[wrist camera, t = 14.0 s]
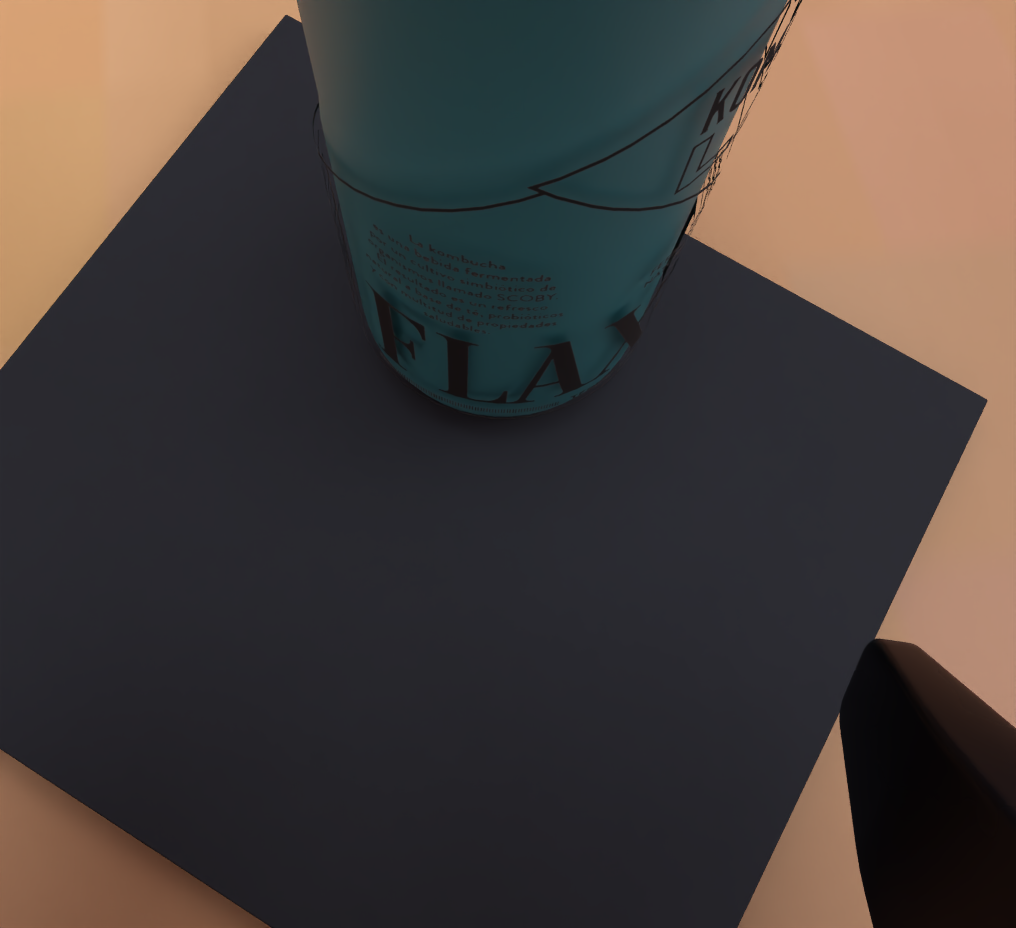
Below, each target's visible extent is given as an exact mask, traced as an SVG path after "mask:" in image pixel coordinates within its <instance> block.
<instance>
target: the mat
mask: <svg viewBox="0 0 1016 928" xmlns="http://www.w3.org/2000/svg"><path fill="white" fill-rule="evenodd" d="M318 103H319V95H318V91H317V87H316V82H315V78H314V73H313V69H312V65H311V60H310V56H309V52H308V47H307V43H306V38H305V34H304V30H303V25H302V23H301V22H299V21H297V20H295V19H293V18H292V17H290V16H288V15H285V16H284V18H283V19H282V20H281V21H280V22H279V24H278V25H277V26H276V27H275V29H274V30H273V31H272V32H271V34H270V35H269V36H268V37H267V39H266V40H265V41H264V42H263V44H262V45H261V46H260V47H259V49H258V50H257V51H256V52H255V54H254V55H253V56H252V57H251V59H250V60H249V61H248V62H247V64H246V65H245V66H244V67H243V69H242V70H241V71H240V72H239V74H238V75H237V76H236V77H235V79H234V80H233V81H232V82H231V83H230V85H229V86H228V87H227V88H226V90H225V91H224V92H223V93H222V95H221V96H220V97H219V98H218V100H217V101H216V102H215V103H214V105H213V106H212V107H211V108H210V110H209V111H208V112H207V113H206V115H205V116H204V117H203V118H202V120H201V121H200V122H199V123H198V125H197V126H196V127H195V128H194V130H193V131H192V132H191V133H190V135H189V136H188V137H187V138H186V139H185V141H184V142H183V143H182V144H181V146H180V147H179V148H178V149H177V151H176V152H175V153H174V154H173V156H172V157H171V158H170V159H169V161H168V162H167V163H166V164H165V166H164V167H163V168H162V169H161V171H160V172H159V173H158V174H157V176H156V177H155V178H154V179H153V181H152V182H151V183H150V184H149V186H148V187H147V188H146V189H145V191H144V192H143V193H142V194H141V196H140V197H139V198H138V199H137V200H136V202H135V203H134V204H133V205H132V207H131V208H130V209H129V210H128V212H127V213H126V214H125V215H124V217H123V218H122V219H121V220H120V222H119V223H118V224H117V225H116V227H115V228H114V229H113V230H112V232H111V233H110V234H109V235H108V237H107V238H106V239H105V240H104V242H103V243H102V244H101V245H100V247H99V248H98V249H97V250H96V252H95V253H94V254H93V255H92V257H91V258H90V259H89V260H88V261H87V263H86V264H85V265H84V266H83V268H82V269H81V270H80V271H79V273H78V274H77V275H76V276H75V278H74V279H73V280H72V281H71V283H70V284H69V285H68V286H67V288H66V289H65V290H64V291H63V293H62V294H61V295H60V296H59V298H58V299H57V300H56V301H55V303H54V304H53V305H52V306H51V308H50V309H49V310H48V311H47V313H46V314H45V315H44V316H43V318H42V319H41V320H40V321H39V322H38V324H37V325H36V326H35V327H34V329H33V330H32V331H31V332H30V334H29V335H28V336H27V337H26V339H25V340H24V341H23V342H22V344H21V345H20V346H19V347H18V349H17V350H16V351H15V352H14V354H13V355H12V356H11V357H10V359H9V360H8V361H7V362H6V364H5V365H4V366H3V367H2V369H1V370H0V749H1V750H2V751H4V752H5V753H7V754H9V755H10V756H12V757H13V758H15V759H16V760H18V761H19V762H21V763H22V764H24V765H25V766H27V767H28V768H30V769H31V770H33V771H34V772H36V773H37V774H39V775H40V776H42V777H43V778H45V779H47V780H48V781H50V782H51V783H53V784H54V785H56V786H57V787H59V788H60V789H62V790H63V791H65V792H66V793H68V794H69V795H71V796H72V797H74V798H75V799H77V800H78V801H80V802H81V803H83V804H85V805H86V806H88V807H89V808H91V809H92V810H94V811H95V812H97V813H98V814H100V815H101V816H103V817H104V818H106V819H107V820H109V821H110V822H112V823H113V824H115V825H116V826H118V827H119V828H121V829H123V830H124V831H126V832H127V833H129V834H130V835H132V836H133V837H135V838H136V839H138V840H139V841H141V842H142V843H144V844H145V845H147V846H148V847H150V848H151V849H153V850H154V851H156V852H157V853H159V854H161V855H162V856H164V857H165V858H167V859H168V860H170V861H171V862H173V863H174V864H176V865H177V866H179V867H180V868H182V869H183V870H185V871H186V872H188V873H189V874H191V875H192V876H194V877H195V878H197V879H199V880H200V881H202V882H203V883H205V884H206V885H208V886H209V887H211V888H212V889H214V890H215V891H217V892H218V893H220V894H221V895H223V896H224V897H226V898H227V899H229V900H230V901H232V902H233V903H235V904H237V905H238V906H240V907H241V908H243V909H244V910H246V911H247V912H249V913H250V914H252V915H253V916H255V917H256V918H258V919H259V920H261V921H262V922H264V923H265V924H267V925H268V926H270V927H271V928H737V927H738V925H739V923H740V921H741V919H742V917H743V914H744V912H745V910H746V908H747V906H748V904H749V902H750V900H751V898H752V895H753V893H754V891H755V889H756V887H757V885H758V883H759V881H760V879H761V877H762V874H763V872H764V870H765V868H766V866H767V864H768V862H769V860H770V858H771V855H772V853H773V851H774V849H775V847H776V845H777V843H778V841H779V839H780V837H781V834H782V832H783V830H784V828H785V826H786V824H787V822H788V820H789V818H790V816H791V813H792V811H793V809H794V807H795V805H796V803H797V801H798V799H799V797H800V794H801V792H802V790H803V788H804V786H805V784H806V782H807V780H808V778H809V776H810V773H811V771H812V769H813V767H814V765H815V763H816V761H817V759H818V757H819V754H820V752H821V750H822V748H823V746H824V744H825V742H826V740H827V738H828V736H829V733H830V731H831V729H832V727H833V725H834V723H835V721H836V719H837V717H838V715H839V712H840V707H841V703H842V699H843V696H844V694H845V692H846V689H847V687H848V685H849V682H850V680H851V678H852V675H853V673H854V671H855V668H856V666H857V664H858V661H859V659H860V657H861V654H862V652H863V650H864V648H865V647H866V645H867V644H868V643H869V642H870V641H872V640H874V639H875V637H876V635H877V632H878V630H879V628H880V626H881V624H882V622H883V620H884V618H885V616H886V614H887V611H888V609H889V607H890V605H891V603H892V601H893V599H894V597H895V595H896V592H897V590H898V588H899V586H900V584H901V582H902V580H903V578H904V576H905V574H906V571H907V569H908V567H909V565H910V563H911V561H912V559H913V557H914V555H915V552H916V550H917V548H918V546H919V544H920V542H921V540H922V538H923V536H924V534H925V531H926V529H927V527H928V525H929V523H930V521H931V519H932V517H933V515H934V513H935V510H936V508H937V506H938V504H939V502H940V500H941V498H942V496H943V494H944V491H945V489H946V487H947V485H948V483H949V481H950V479H951V477H952V475H953V473H954V470H955V468H956V466H957V464H958V462H959V460H960V458H961V456H962V454H963V451H964V449H965V447H966V445H967V443H968V441H969V439H970V437H971V435H972V433H973V430H974V428H975V426H976V424H977V422H978V420H979V418H980V416H981V414H982V412H983V409H984V407H985V405H986V403H987V399H985V398H983V397H981V396H980V395H978V394H976V393H974V392H972V391H970V390H969V389H967V388H965V387H963V386H961V385H959V384H958V383H956V382H954V381H952V380H950V379H949V378H947V377H945V376H943V375H941V374H939V373H938V372H936V371H934V370H932V369H930V368H929V367H927V366H925V365H923V364H921V363H919V362H918V361H916V360H914V359H912V358H910V357H909V356H907V355H905V354H903V353H901V352H899V351H898V350H896V349H894V348H892V347H890V346H889V345H887V344H885V343H883V342H881V341H879V340H878V339H876V338H874V337H872V336H870V335H868V334H867V333H865V332H863V331H861V330H859V329H858V328H856V327H854V326H852V325H850V324H848V323H847V322H845V321H843V320H841V319H839V318H838V317H836V316H834V315H832V314H830V313H828V312H827V311H825V310H823V309H821V308H819V307H818V306H816V305H814V304H812V303H810V302H808V301H807V300H805V299H803V298H801V297H799V296H798V295H796V294H794V293H792V292H790V291H788V290H787V289H785V288H783V287H781V286H779V285H777V284H776V283H774V282H772V281H770V280H768V279H767V278H765V277H763V276H761V275H759V274H757V273H756V272H754V271H752V270H750V269H748V268H747V267H745V266H743V265H741V264H739V263H737V262H736V261H734V260H732V259H730V258H728V257H727V256H725V255H723V254H721V253H719V252H717V251H716V250H714V249H712V248H710V247H708V246H707V245H705V244H703V243H701V242H699V241H697V240H696V239H694V238H692V237H689V236H687V235H686V234H685V233H684V235H683V237H682V239H681V242H680V243H681V244H682V242H683V240H684V238H685V237H687V238H688V237H689V238H688V239H687V238H686V239H685V240H684V242H685V244H684V242H683V244H684V245H683V244H682V245H681V244H679V245H680V247H678V249H677V250H676V252H675V254H674V257H675V258H673V260H672V261H671V263H670V265H669V267H668V269H667V272H666V274H665V276H664V278H663V281H664V280H665V279H666V278H667V279H668V280H669V281H668V280H667V279H666V281H665V282H664V284H663V285H662V287H661V289H660V290H659V292H658V293H657V298H656V297H655V298H654V300H653V296H655V295H656V292H657V290H658V289H659V288H658V289H657V287H659V286H660V285H661V283H662V277H663V273H662V275H661V277H660V281H659V283H658V284H657V286H656V288H655V292H653V295H652V297H651V299H650V301H649V303H648V306H649V305H650V303H651V301H652V300H653V305H652V303H651V305H650V307H649V308H648V306H647V308H648V310H647V308H646V310H647V312H646V313H645V312H644V313H645V315H644V316H643V318H642V320H641V321H640V323H639V325H640V327H641V330H642V334H643V335H642V334H641V336H642V337H641V336H640V337H639V339H638V340H637V342H638V343H637V342H636V343H635V344H634V345H633V346H632V348H631V349H630V346H628V348H627V349H626V351H625V352H624V354H623V355H622V357H621V359H620V360H619V361H618V362H617V363H616V365H615V366H614V367H613V368H612V369H611V371H610V372H609V373H608V374H606V375H605V376H604V377H603V378H602V379H601V381H599V382H598V383H599V384H598V385H596V384H595V385H596V386H595V385H594V387H593V388H592V387H591V388H590V389H589V390H588V391H585V393H583V394H581V395H579V396H577V397H575V398H573V399H571V400H569V401H567V402H565V403H563V404H561V405H558V406H556V407H553V408H551V409H548V410H545V411H541V412H537V413H533V414H529V415H521V416H513V417H493V416H485V417H493V418H516V417H524V416H532V415H538V414H542V413H546V412H550V411H554V410H556V409H559V408H561V409H559V410H556V411H554V412H550V413H546V414H542V415H538V416H532V417H524V418H516V419H493V418H484V417H475V416H471V415H467V414H463V413H468V412H464V411H460V410H457V409H455V408H452V407H450V406H447V405H444V404H442V403H440V402H439V401H437V400H435V399H433V398H431V397H429V396H428V395H426V394H425V393H423V392H422V391H421V390H419V389H418V388H417V387H415V386H414V385H412V384H411V383H410V382H409V381H407V380H406V379H404V377H402V375H401V376H400V373H399V374H398V371H397V372H396V369H395V370H394V367H393V368H392V364H391V363H390V362H389V361H387V362H386V359H387V358H386V357H385V359H384V356H385V355H384V354H383V352H382V351H381V349H380V347H379V346H378V344H377V343H376V341H375V339H374V336H373V334H372V332H371V330H370V328H369V325H368V323H367V319H366V316H365V313H364V310H363V306H362V301H361V297H360V293H359V288H358V284H357V279H356V275H355V270H354V266H353V264H352V257H351V253H350V248H349V244H348V239H347V235H346V230H345V226H344V221H343V217H342V213H341V208H340V204H339V199H338V195H337V190H336V186H335V181H334V177H333V173H332V172H331V171H330V170H329V169H328V168H327V169H328V173H329V177H330V181H331V185H330V181H328V179H329V177H328V173H327V169H326V165H325V164H324V162H323V164H322V159H321V157H322V153H323V160H324V161H325V163H326V164H327V165H328V167H329V168H330V169H331V170H332V168H331V164H330V159H329V155H328V150H327V146H326V141H325V137H324V132H323V127H322V123H321V118H320V110H319V107H318V109H317V112H316V114H315V120H314V126H313V118H314V112H315V109H316V107H317V104H318ZM318 130H319V132H318ZM313 131H314V137H313ZM318 135H319V137H318ZM318 138H319V139H318ZM314 141H315V142H314ZM318 142H319V144H318ZM315 144H316V145H315ZM316 147H317V148H316ZM318 147H319V148H318ZM317 149H318V150H319V151H318V150H317ZM318 152H319V153H318ZM319 154H320V155H321V157H319ZM320 161H321V163H320ZM322 166H323V167H322ZM321 168H322V169H321ZM322 170H324V171H325V173H323V172H324V171H322ZM322 174H323V175H322ZM324 178H325V179H326V182H325V181H324ZM324 182H325V183H324ZM325 184H326V185H327V188H326V185H325ZM328 184H329V185H328ZM328 186H329V189H328ZM331 186H332V190H333V194H334V198H333V194H332V190H331ZM326 190H329V191H326ZM327 192H328V194H329V195H327ZM330 194H331V198H329V196H330ZM334 199H335V202H334ZM329 200H331V201H330V202H331V204H330V202H329ZM334 203H336V207H337V211H338V204H339V211H338V215H337V211H336V216H335V217H336V219H335V217H334V215H335V213H334V212H335V205H334ZM331 206H332V208H331ZM332 211H333V214H334V215H333V214H332ZM338 216H339V219H338ZM333 218H334V220H333ZM339 220H340V223H339ZM334 221H335V222H336V223H335V222H334ZM335 224H336V225H335ZM340 224H341V228H342V232H341V231H340ZM335 226H337V227H336V228H337V230H336V228H335ZM337 232H338V233H339V234H337ZM340 232H341V234H340ZM342 233H343V235H344V240H343V236H342ZM340 236H341V238H340ZM338 238H339V239H341V242H340V240H339V239H338ZM686 240H687V241H686ZM342 241H345V245H346V247H347V253H346V249H345V245H344V254H342V253H343V250H342V249H341V247H340V246H342ZM339 243H340V244H339ZM343 244H344V243H343ZM682 246H683V247H682ZM680 248H681V249H680ZM679 249H680V252H681V253H680V252H679V251H678V250H679ZM678 252H679V253H678ZM345 253H346V255H347V254H348V257H347V256H346V258H345ZM676 253H678V255H679V256H678V255H676ZM675 255H676V256H675ZM343 256H344V257H343ZM343 258H344V259H345V260H343ZM348 258H349V262H348ZM678 258H679V259H678ZM346 259H347V266H345V265H346V263H345V262H346ZM677 259H678V260H677ZM344 261H345V262H344ZM675 262H677V263H676V265H675V268H673V267H674V264H675ZM349 263H350V266H349ZM673 263H674V264H673ZM672 264H673V265H672ZM671 265H672V266H671ZM348 267H349V268H348ZM350 267H351V268H352V275H353V278H352V282H353V280H354V283H352V286H351V278H350V279H349V281H350V283H349V281H348V278H349V277H351V270H350ZM345 268H347V269H345ZM672 268H673V269H672ZM671 270H672V272H671ZM346 271H349V272H350V276H349V275H348V274H347V273H348V272H347V273H346ZM670 272H671V273H670ZM669 273H670V275H671V276H670V275H669ZM347 275H348V277H347ZM668 275H669V276H668ZM667 276H668V277H667ZM667 282H668V283H667ZM349 284H350V285H349ZM353 284H355V287H354V285H353ZM666 284H667V285H666ZM665 286H666V287H665ZM350 287H351V288H350ZM664 287H665V288H664ZM355 288H356V291H355ZM656 289H657V290H656ZM351 290H352V291H351ZM663 290H664V291H663ZM352 292H353V293H352ZM356 292H357V295H356ZM353 294H354V295H353ZM660 296H661V297H660ZM357 297H358V300H357ZM659 298H660V299H659ZM353 299H354V301H353ZM655 300H656V301H655ZM658 300H659V301H658ZM358 301H359V304H358ZM655 302H656V303H657V302H658V304H657V306H656V308H655V309H654V308H653V307H655V306H654V305H656V303H655ZM354 303H355V304H356V305H355V304H354ZM359 305H360V308H359ZM356 306H357V307H356ZM651 308H652V310H653V312H652V310H651ZM360 309H361V312H360ZM646 310H645V311H646ZM357 311H358V312H357ZM650 312H651V313H650ZM361 314H362V317H361ZM651 314H652V316H651ZM649 316H650V317H651V318H650V317H649ZM362 318H363V321H362ZM648 319H649V320H648ZM359 321H360V322H359ZM363 322H364V325H363ZM647 322H648V323H647ZM361 326H362V327H361ZM364 326H365V329H364ZM645 327H646V329H645ZM362 328H363V329H362ZM363 330H364V331H363ZM643 330H644V331H643ZM365 331H366V333H365ZM643 332H644V333H643ZM366 335H367V338H366ZM367 339H368V340H367ZM369 342H370V343H369ZM370 344H371V345H372V346H371V345H370ZM636 344H638V345H636ZM635 345H636V346H635ZM372 347H373V348H372ZM634 347H635V348H634ZM633 348H634V349H635V350H634V349H633ZM373 349H374V350H375V351H374V350H373ZM629 349H630V350H629ZM628 350H629V351H628ZM632 350H633V351H632ZM631 351H632V352H633V353H632V352H631ZM375 352H376V353H375ZM626 353H627V354H626ZM629 353H630V355H629V356H628V354H629ZM381 354H383V356H381ZM625 354H626V355H625ZM377 355H378V356H379V357H380V358H379V357H378V356H377ZM627 356H628V357H627ZM626 357H627V358H626ZM629 357H630V358H629ZM628 358H629V359H628ZM380 359H381V360H382V361H383V362H384V363H383V362H382V361H381V360H380ZM624 359H625V360H624ZM387 360H388V359H387ZM623 360H624V362H622V361H623ZM388 362H389V364H388ZM624 363H625V364H624ZM384 364H385V365H386V366H387V367H388V368H389V369H388V368H387V367H386V366H385V365H384ZM390 364H391V366H390ZM620 364H621V365H620ZM623 364H624V365H623ZM619 365H620V366H619ZM620 368H621V369H620ZM614 369H615V371H614V372H612V371H613V370H614ZM619 369H620V370H619ZM389 370H390V371H391V372H390V371H389ZM618 370H619V371H618ZM617 371H618V372H617ZM392 372H393V373H394V374H395V375H396V376H397V377H398V378H399V379H400V380H401V381H402V382H403V383H405V384H406V385H407V386H409V387H410V388H412V389H413V390H414V391H416V392H417V393H419V394H420V395H422V396H424V397H426V398H428V399H429V400H431V401H433V402H435V403H437V404H440V405H442V406H445V407H448V408H450V409H453V410H455V411H459V412H463V413H459V412H455V411H453V410H450V409H447V408H445V407H442V406H439V405H437V404H435V403H433V402H431V401H429V400H427V399H426V398H424V397H422V396H420V395H418V394H417V393H416V392H414V391H413V390H411V389H410V388H409V387H407V386H406V385H405V384H403V383H402V382H401V381H400V380H399V379H398V378H397V377H396V376H395V375H394V374H393V373H392ZM611 372H612V373H611ZM616 372H617V373H616ZM615 373H616V374H615ZM610 374H611V375H610ZM614 374H615V375H614ZM607 375H608V377H607ZM609 375H610V376H609ZM613 375H614V376H613ZM612 376H613V377H612ZM605 377H606V378H605ZM611 377H612V378H611ZM604 378H605V380H604ZM610 378H611V379H610ZM609 379H610V380H609ZM608 380H609V381H608ZM603 384H604V385H603ZM602 385H603V386H602ZM600 386H601V387H600ZM599 387H600V388H599ZM597 388H599V389H597ZM596 389H597V390H596ZM595 390H596V391H595ZM593 391H594V392H593ZM592 392H593V393H592ZM590 393H592V394H590ZM589 394H590V395H589ZM587 395H589V396H587ZM585 396H587V397H585ZM583 397H585V398H583ZM581 398H583V399H581ZM580 399H581V400H580ZM578 400H579V401H578ZM576 401H578V402H576ZM574 402H576V403H574ZM572 403H574V404H572ZM569 404H572V405H569ZM567 405H569V406H567ZM564 406H567V407H564ZM562 407H564V408H562ZM468 414H472V413H468ZM472 415H476V416H484V415H477V414H472Z"/></svg>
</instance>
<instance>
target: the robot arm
mask: <svg viewBox="0 0 1016 928" xmlns="http://www.w3.org/2000/svg"><path fill="white" fill-rule="evenodd" d="M840 730H841V738H842V745H843V753H844V760H845V768H846V775H847V783H848V790H849V798H850V805H851V813H852V820H853V828H854V835H855V843H856V850H857V856H858V862H859V868H860V873H861V878H862V882H863V887H864V891H865V896H866V900H867V904H868V908H869V912H870V916H871V920H872V924H873V928H1016V728H1015V727H1014V726H1012V725H1011V724H1010V723H1009V722H1008V721H1006V720H1005V719H1004V718H1003V717H1002V716H1000V715H999V714H998V713H997V712H996V711H995V710H993V709H992V708H991V707H990V706H989V705H987V704H986V703H985V702H984V701H983V700H981V699H980V698H979V697H978V696H977V695H976V694H974V693H973V692H972V691H971V690H970V689H968V688H967V687H966V686H965V685H964V684H962V683H961V682H960V681H959V680H958V679H956V678H955V677H954V676H953V675H952V674H951V673H949V672H948V671H947V670H946V669H945V668H943V667H942V666H941V665H940V664H939V663H937V662H936V661H935V660H934V659H933V658H931V657H930V656H929V655H928V654H927V653H926V652H924V651H923V650H922V649H921V648H919V647H918V646H916V645H914V644H911V643H906V642H899V641H892V640H885V639H874V640H872V641H870V642H869V643H868V644H867V645H866V647H865V648H864V650H863V652H862V654H861V657H860V659H859V661H858V664H857V666H856V668H855V671H854V673H853V675H852V678H851V680H850V682H849V685H848V687H847V689H846V692H845V694H844V696H843V699H842V703H841V707H840Z"/></svg>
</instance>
